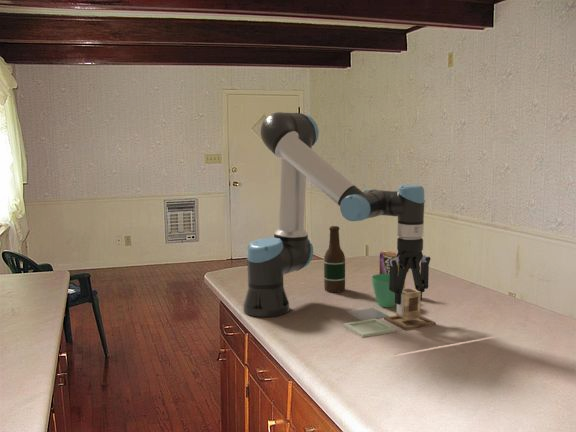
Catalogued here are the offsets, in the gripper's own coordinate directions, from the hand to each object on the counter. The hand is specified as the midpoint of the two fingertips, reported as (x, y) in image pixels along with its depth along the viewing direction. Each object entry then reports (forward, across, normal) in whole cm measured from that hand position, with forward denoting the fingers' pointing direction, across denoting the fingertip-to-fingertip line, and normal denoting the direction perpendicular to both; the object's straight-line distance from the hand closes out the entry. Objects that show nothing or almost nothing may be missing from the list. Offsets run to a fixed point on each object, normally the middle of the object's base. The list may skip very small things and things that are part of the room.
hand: (408, 312), depth 171 cm
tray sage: (+3, -14, 0) cm, 14 cm away
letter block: (+1, 0, 0) cm, 1 cm away
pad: (+4, -7, +12) cm, 14 cm away
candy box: (+4, +14, +30) cm, 33 cm away
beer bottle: (+4, -2, +44) cm, 44 cm away
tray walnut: (+3, 0, 0) cm, 3 cm away
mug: (+4, +6, +19) cm, 20 cm away
